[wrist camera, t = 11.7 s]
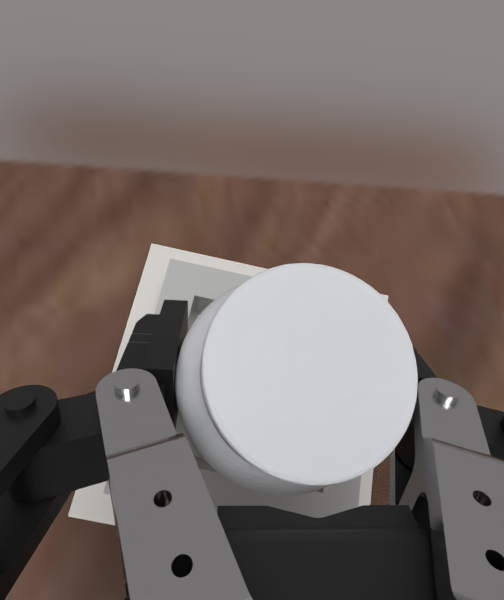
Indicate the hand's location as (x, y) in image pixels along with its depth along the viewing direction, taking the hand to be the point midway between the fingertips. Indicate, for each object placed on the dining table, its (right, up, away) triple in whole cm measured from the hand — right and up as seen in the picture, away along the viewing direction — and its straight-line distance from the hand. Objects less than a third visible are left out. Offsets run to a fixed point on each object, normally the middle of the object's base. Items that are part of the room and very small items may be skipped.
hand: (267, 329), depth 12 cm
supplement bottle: (0, -3, +4) cm, 5 cm away
